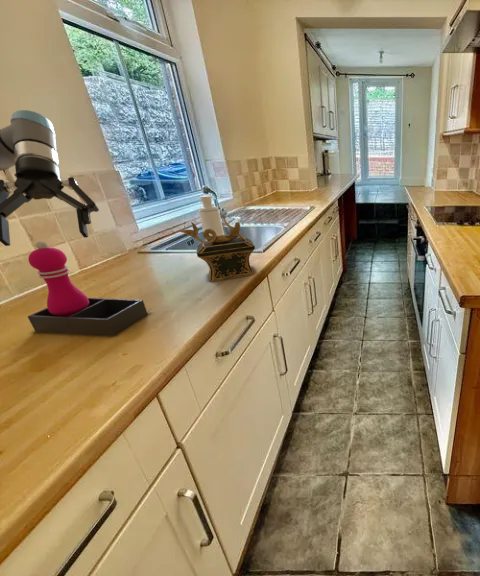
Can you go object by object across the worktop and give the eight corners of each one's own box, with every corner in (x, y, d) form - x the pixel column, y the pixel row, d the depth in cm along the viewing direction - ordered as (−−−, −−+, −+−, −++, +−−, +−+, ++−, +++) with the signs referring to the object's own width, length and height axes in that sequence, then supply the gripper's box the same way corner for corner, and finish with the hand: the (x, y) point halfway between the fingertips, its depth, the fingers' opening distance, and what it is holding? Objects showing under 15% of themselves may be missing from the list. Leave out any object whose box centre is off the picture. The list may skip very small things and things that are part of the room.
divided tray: (36, 333, 74) (27, 316, 72) (78, 312, 83) (71, 296, 82) (114, 337, 72) (106, 320, 71) (148, 315, 82) (142, 299, 80)
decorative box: (255, 266, 115) (245, 211, 107) (260, 275, 107) (249, 216, 99) (192, 276, 106) (176, 217, 98) (192, 286, 98) (175, 223, 90)
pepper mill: (55, 320, 78) (17, 241, 70) (93, 310, 83) (61, 235, 75) (56, 331, 73) (15, 248, 65) (96, 320, 78) (62, 241, 70)
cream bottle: (221, 261, 120) (205, 193, 110) (206, 259, 122) (189, 192, 112) (232, 255, 126) (218, 190, 116) (218, 254, 128) (203, 190, 117)
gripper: (106, 174, 88) (118, 239, 83) (-25, 178, 76) (-22, 254, 71) (96, 154, 82) (108, 223, 77) (-49, 155, 70) (-48, 237, 65)
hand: (45, 238), depth 74 cm, fingers open, 13 cm apart
